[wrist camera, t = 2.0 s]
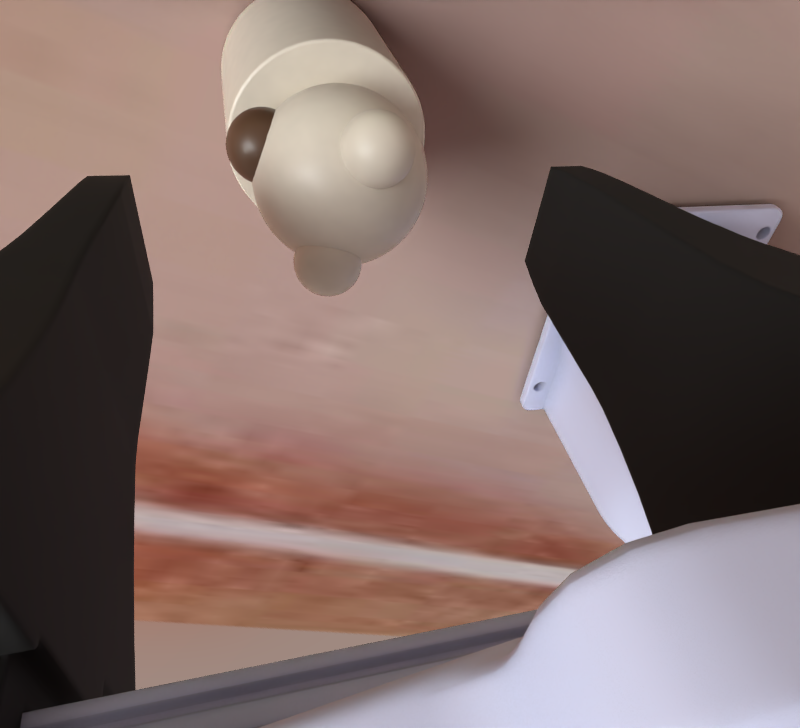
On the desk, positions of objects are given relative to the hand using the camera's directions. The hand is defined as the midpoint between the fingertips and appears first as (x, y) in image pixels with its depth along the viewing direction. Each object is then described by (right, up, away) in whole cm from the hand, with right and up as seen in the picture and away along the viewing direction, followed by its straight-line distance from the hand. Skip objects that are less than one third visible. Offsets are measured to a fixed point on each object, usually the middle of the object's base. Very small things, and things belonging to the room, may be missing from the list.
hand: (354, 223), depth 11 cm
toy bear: (-2, +5, +5) cm, 7 cm away
